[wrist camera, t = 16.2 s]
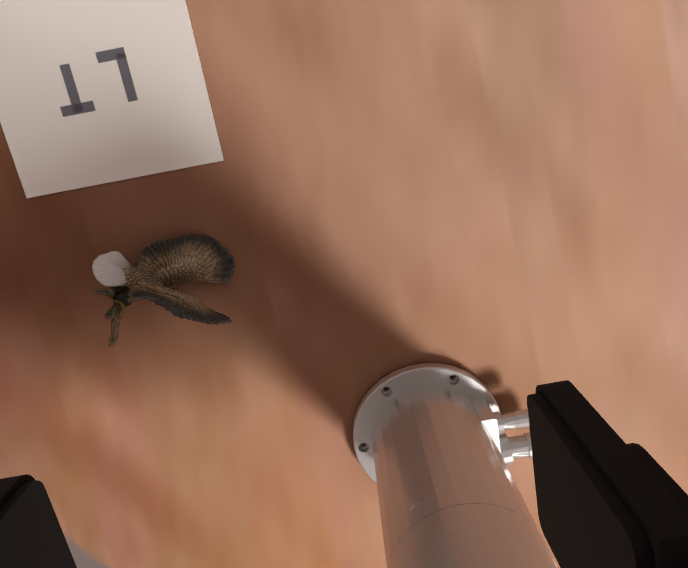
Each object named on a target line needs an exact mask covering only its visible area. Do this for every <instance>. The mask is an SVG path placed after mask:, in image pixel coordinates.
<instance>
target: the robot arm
mask: <svg viewBox="0 0 688 568" xmlns="http://www.w3.org/2000/svg"><path fill="white" fill-rule="evenodd" d="M452 375H455V376H454V377H450V376H452ZM384 387H389V388H387V389H384ZM527 407H528V409H524V410H518V411H513V412H511V413H506V414H501V412H500V409H499V406H498V404H497V403H496V401H495V399H494V397H493V395H492V394H491V393H490V391H489V390H488V388H487V387H486V386H485V385H484V384H483V383H482V382H481V381H480V380H479V379H478V378H476V377H475V376H473V375H472V374H470V373H468V372H467V371H465V370H462V369H460V368H457V367H454V366H452V365H446V364H440V363H421V364H415V365H410V366H407V367H404V368H401V369H398V370H395V371H394V372H392V373H390V374H388V375H387V376H385V377H383V378H382V379H381V380H380V381H378V382H377V383H376V384H375V385H374V386H372V387H371V389H370V390H369V391H368V392H367V394H366V395H365V396H364V397H363V399H362V401H361V403H360V405H359V407H358V409H357V412H356V415H355V418H354V423H353V443H354V449H355V453H356V457H357V459H358V461H359V463H360V465H361V467H362V469H363V470H364V471H365V473H366V474H367V475H368V476H369V478H370V479H371V480H373V481H374V482H375V483H376V484H377V488H378V497H379V505H380V514H381V522H382V530H383V539H384V547H385V555H386V564H387V568H558V567H557V565H556V563H555V561H554V559H553V557H552V555H551V553H550V551H549V549H548V547H547V545H546V543H545V541H544V539H543V537H542V535H541V533H540V531H539V529H538V527H537V525H536V523H535V521H534V519H533V517H532V515H531V513H530V511H529V509H528V507H527V505H526V503H525V501H524V499H523V497H522V495H521V493H520V491H519V489H518V487H517V485H516V483H515V481H514V479H513V477H512V475H511V473H510V471H509V469H508V467H507V465H511V464H513V459H519V458H525V457H529V458H532V457H533V466H534V476H535V486H536V496H537V506H538V515H539V520H540V524H541V528H542V530H543V533H544V535H545V538H546V540H547V542H548V544H549V546H550V548H551V550H552V552H553V553H554V555H555V557H556V559H557V561H558V563H559V565H560V567H561V568H688V495H687V494H686V493H685V492H684V491H683V490H682V489H681V487H680V486H679V485H678V484H677V483H676V482H675V481H674V480H673V479H672V478H671V477H670V476H669V475H668V474H667V472H666V471H665V470H664V469H663V468H662V467H661V466H660V465H659V464H658V463H657V462H656V461H655V460H654V459H653V458H652V456H651V455H650V454H649V453H648V452H647V451H646V450H645V449H644V448H643V447H641V446H640V445H639V444H635V443H631V444H625V442H624V441H623V440H622V439H621V438H620V437H619V436H618V435H617V434H616V432H615V431H614V430H613V429H612V428H611V427H610V426H609V425H608V423H607V422H606V421H605V420H604V419H603V418H602V417H601V416H600V414H599V413H598V412H597V411H596V410H595V409H594V408H593V407H592V406H591V404H590V403H589V402H588V401H587V400H586V399H585V398H584V397H583V395H582V394H581V393H580V392H579V391H578V390H577V389H576V388H575V386H574V385H573V384H572V383H571V382H570V381H568V380H566V381H560V382H554V383H549V384H543V385H537V387H536V394H531V395H528V396H527ZM525 427H530V433H524V434H523V435H519V436H514V437H507V435H506V434H505V433H504V430H508V429H514V428H516V429H519V428H525ZM362 443H365V444H362ZM0 568H77V567H76V565H75V562H74V559H73V557H72V554H71V552H70V549H69V547H68V544H67V542H66V539H65V537H64V534H63V532H62V529H61V527H60V524H59V522H58V519H57V517H56V514H55V512H54V509H53V507H52V504H51V502H50V499H49V497H48V494H47V492H46V489H45V487H44V485H43V483H41V482H40V481H37V480H36V481H35V479H34V478H33V477H32V476H30V475H27V474H26V475H21V476H15V477H9V478H3V479H0Z"/></svg>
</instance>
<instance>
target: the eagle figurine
mask: <svg viewBox="0 0 688 568" xmlns="http://www.w3.org/2000/svg"><path fill="white" fill-rule="evenodd" d="M220 246H221V244H220V243H219V242H214V239H213V238H210V237H207V236H202V235H196V236H195V235H190V236H189V237H180V238H178V239H173V240H167V241H166V242H164V241H160V242H159V241H158V242H156V243H153V244H151V245H150V246H149V247H146V248H145V250H144V251H143V252H142V256H141V257H140V258H139V262H137V263H136V267H133V266H131V264H130V263H129V262H128V261H127V260H126V259H125V257H124V256H123V255H122V254H121V253H120V252H117V251H111V252H108V253H106V254H101V255H99V256H98V257H97V258H96V259H95V260H93V265H92V271H93V274H94V276H95V277H96V280H97V281H98V282H100V283H101V284H102V285H104V286H107V287H109V288H110V289H94V290H93V293H96V294H103V295H106V296H108V297H110V298H111V299H114V301H113V303H114V304H113V306H112V307H111V308H110V309H109V310H108V312H107V313H106V314H105V318H106V319H111V335H110V339H109V347H113V345H114V344H115V343H116V341H117V339H118V329H119V324H120V323H119V321H120V318H121V317H122V316H123V314H124V311H125V309H126V306H128V305H131V303H132V302H133V301H135V300H141V299H145V300H149V301H151V302H155V303H156V305H160V306H162V307H165V309H166V310H169V311H171V312H172V314H173V315H174V316H176V317H180V318H182V319H184V318H187V319H188V320H193V321H198V322H202V323H207V324H220V323H223V324H225V323H226V322H229V323H230V322H232V320H230V318H229V317H226V315H223V314H220V313H218V312H216V311H213V310H212V309H210V308H208V307H206V306H205V305H204V304H203V303H202V302H201V301H199V300H198V299H196V298H195V297H193V296H191V295H188V294H185V293H183V292H180V291H177V290H173V289H170V288H172V287H173V286H175V285H178V284H181V283H187V282H200V281H205V282H211V283H227V282H228V278H229V277H231V276H232V275H233V273H232V270H234V269H235V267H236V265H235V264H234V261H235V259H234V257H233V256H230V255H229V250H228V249H226V248H220Z"/></svg>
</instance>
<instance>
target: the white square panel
mask: <svg viewBox="0 0 688 568" xmlns="http://www.w3.org/2000/svg"><path fill="white" fill-rule="evenodd" d="M0 123H1V126H2V129H3V132H4V134H5V137H6V140H7V143H8V146H9V149H10V152H11V155H12V157H13V160H14V163H15V166H16V169H17V172H18V175H19V178H20V180H21V183H22V186H23V189H24V192H25V195H26V198H31V197H36V196H41V195H47V194H52V193H57V192H62V191H68V190H73V189H78V188H83V187H88V186H94V185H99V184H104V183H109V182H114V181H120V180H125V179H130V178H135V177H141V176H146V175H151V174H156V173H161V172H167V171H172V170H177V169H182V168H188V167H193V166H198V165H203V164H208V163H214V162H219V161H224V158H223V154H222V150H221V146H220V142H219V138H218V134H217V130H216V125H215V121H214V117H213V113H212V109H211V105H210V101H209V96H208V92H207V88H206V84H205V80H204V76H203V72H202V67H201V63H200V59H199V55H198V51H197V47H196V43H195V39H194V34H193V30H192V26H191V22H190V18H189V14H188V10H187V5H186V1H185V0H0Z"/></svg>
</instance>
